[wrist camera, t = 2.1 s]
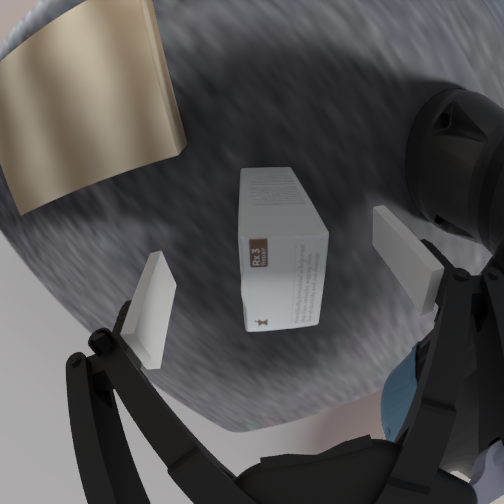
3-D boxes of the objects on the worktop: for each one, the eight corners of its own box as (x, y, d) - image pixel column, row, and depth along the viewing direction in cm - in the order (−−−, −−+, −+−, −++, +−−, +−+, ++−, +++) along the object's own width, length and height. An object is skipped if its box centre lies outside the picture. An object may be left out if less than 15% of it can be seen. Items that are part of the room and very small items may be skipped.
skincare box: (290, 228, 25) (324, 329, 15) (240, 231, 25) (245, 337, 15) (291, 162, 22) (340, 233, 12) (235, 164, 22) (236, 239, 12)
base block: (150, -7, 13) (135, -22, 10) (187, 144, 21) (178, 155, 17) (7, 76, 14) (-20, 80, 11) (42, 197, 22) (20, 215, 18)
